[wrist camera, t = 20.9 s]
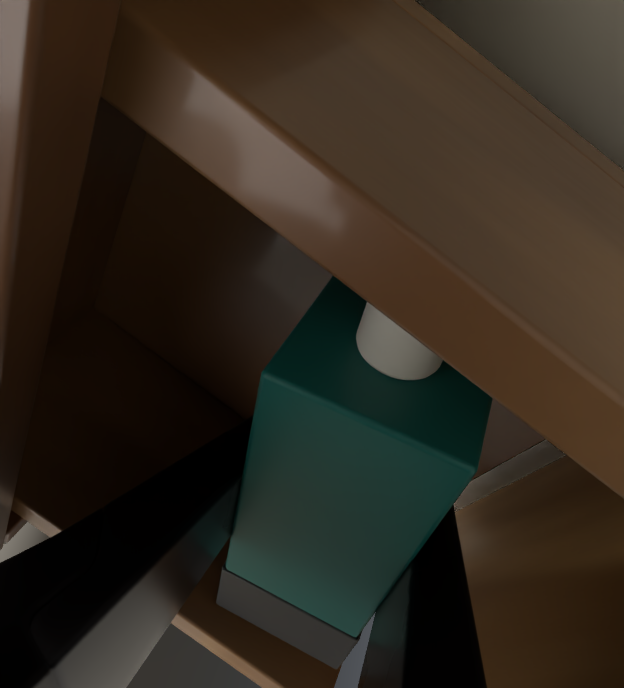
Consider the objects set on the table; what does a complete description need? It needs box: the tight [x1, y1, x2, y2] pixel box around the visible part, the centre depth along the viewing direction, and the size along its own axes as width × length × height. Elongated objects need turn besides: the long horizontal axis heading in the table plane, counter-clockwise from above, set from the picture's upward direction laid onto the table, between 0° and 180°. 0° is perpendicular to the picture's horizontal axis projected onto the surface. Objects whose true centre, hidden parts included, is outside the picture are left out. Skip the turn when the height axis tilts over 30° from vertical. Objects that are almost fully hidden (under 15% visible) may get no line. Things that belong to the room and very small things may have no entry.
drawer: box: [11, 0, 624, 688], centre depth 10 cm, size 18×12×6 cm
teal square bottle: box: [216, 276, 493, 669], centre depth 9 cm, size 8×3×3 cm, turn 167°
